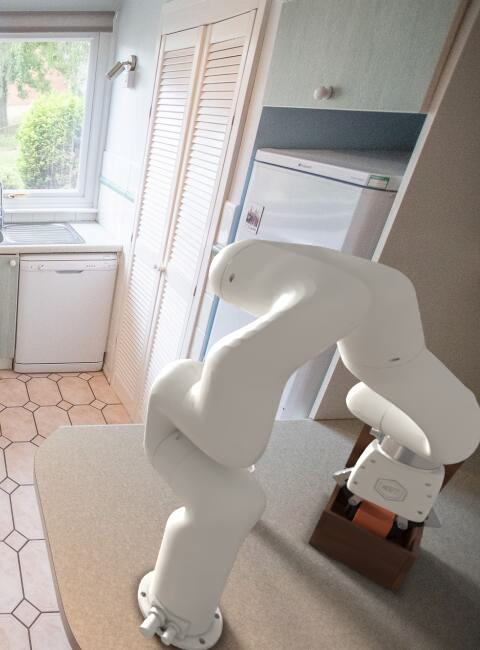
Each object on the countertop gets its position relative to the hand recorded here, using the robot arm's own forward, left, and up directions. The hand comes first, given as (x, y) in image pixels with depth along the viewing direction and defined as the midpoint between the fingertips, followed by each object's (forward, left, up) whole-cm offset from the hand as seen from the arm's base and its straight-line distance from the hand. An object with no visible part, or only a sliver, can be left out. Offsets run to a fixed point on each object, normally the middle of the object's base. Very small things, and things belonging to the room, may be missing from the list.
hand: (368, 527), depth 80 cm
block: (0, 0, 0) cm, 0 cm away
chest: (+4, 0, -7) cm, 8 cm away
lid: (+8, 0, +10) cm, 12 cm away
